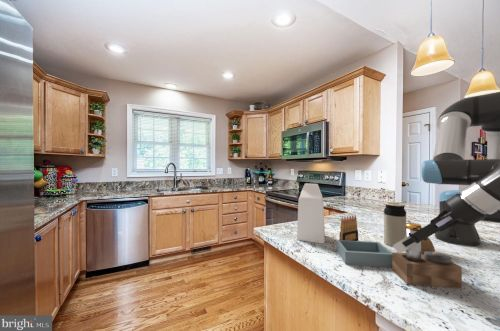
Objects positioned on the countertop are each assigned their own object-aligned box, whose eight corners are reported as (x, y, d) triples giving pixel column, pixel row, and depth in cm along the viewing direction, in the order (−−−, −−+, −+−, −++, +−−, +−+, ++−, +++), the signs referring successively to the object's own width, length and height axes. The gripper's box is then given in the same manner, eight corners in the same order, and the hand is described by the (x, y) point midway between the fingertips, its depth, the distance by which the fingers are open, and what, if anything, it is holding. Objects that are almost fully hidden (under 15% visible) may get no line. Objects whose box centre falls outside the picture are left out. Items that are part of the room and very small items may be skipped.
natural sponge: (401, 251, 83) (401, 227, 83) (430, 256, 79) (430, 230, 79) (404, 260, 76) (404, 233, 76) (437, 266, 71) (437, 237, 71)
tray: (378, 252, 83) (378, 242, 83) (395, 267, 71) (395, 254, 71) (336, 250, 85) (336, 239, 85) (345, 264, 73) (345, 251, 73)
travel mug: (382, 244, 91) (382, 203, 91) (386, 240, 97) (385, 201, 97) (404, 249, 86) (404, 206, 86) (407, 244, 91) (407, 203, 92)
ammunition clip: (342, 245, 91) (342, 217, 91) (339, 243, 92) (339, 216, 92) (358, 240, 96) (358, 214, 96) (354, 239, 97) (354, 214, 98)
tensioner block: (440, 273, 66) (440, 248, 66) (461, 288, 58) (461, 259, 58) (392, 270, 68) (392, 246, 69) (406, 284, 61) (406, 256, 61)
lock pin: (416, 273, 66) (416, 223, 66) (424, 280, 62) (424, 226, 62) (403, 272, 66) (402, 222, 66) (410, 279, 62) (410, 226, 62)
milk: (296, 239, 97) (296, 184, 98) (300, 232, 108) (300, 182, 108) (323, 243, 93) (323, 185, 93) (325, 235, 104) (324, 183, 104)
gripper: (484, 221, 47) (398, 266, 60) (492, 211, 57) (417, 252, 70) (451, 195, 51) (378, 242, 64) (464, 190, 61) (399, 232, 74)
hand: (399, 247), depth 67 cm, fingers closed on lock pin, 3 cm apart
